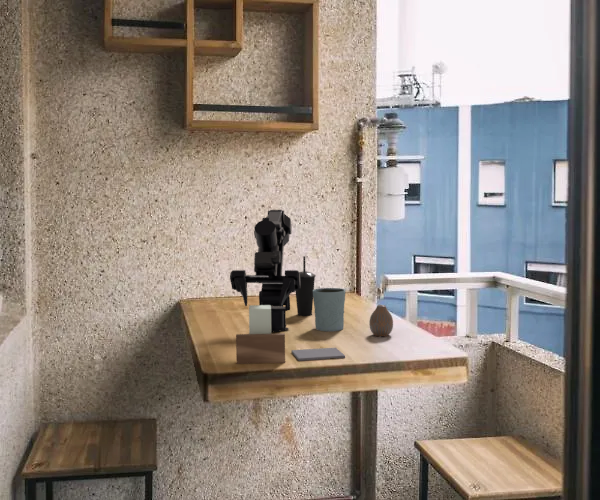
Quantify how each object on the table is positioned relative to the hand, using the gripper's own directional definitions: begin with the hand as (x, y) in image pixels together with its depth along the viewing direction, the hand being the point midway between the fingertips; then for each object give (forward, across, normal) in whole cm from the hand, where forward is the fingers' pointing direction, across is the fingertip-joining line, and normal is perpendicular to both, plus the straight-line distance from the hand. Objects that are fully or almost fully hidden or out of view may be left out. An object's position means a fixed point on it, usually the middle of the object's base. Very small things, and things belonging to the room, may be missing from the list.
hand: (263, 305), depth 177 cm
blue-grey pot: (-13, +17, +30) cm, 37 cm away
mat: (+11, +14, +6) cm, 19 cm away
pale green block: (+13, 0, +4) cm, 14 cm away
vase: (-6, +32, +24) cm, 40 cm away
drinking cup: (-29, +8, +46) cm, 55 cm away
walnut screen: (+17, +1, +1) cm, 17 cm away
